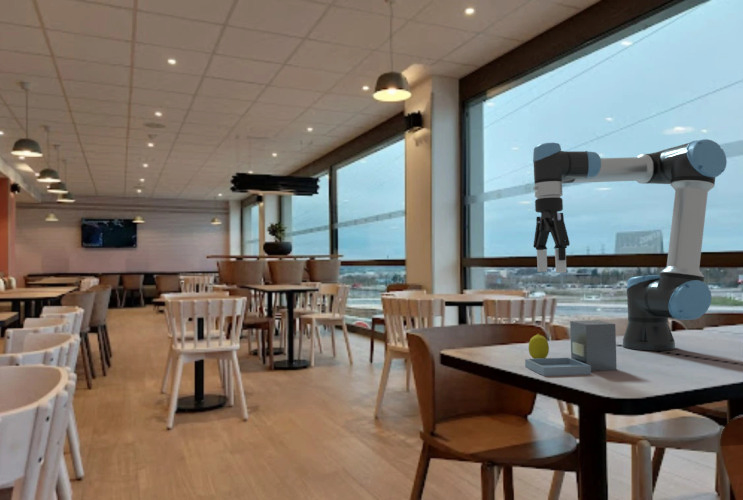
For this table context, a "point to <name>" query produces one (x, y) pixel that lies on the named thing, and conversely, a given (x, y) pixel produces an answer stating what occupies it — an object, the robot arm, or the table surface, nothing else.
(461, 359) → the table surface
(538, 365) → the dish
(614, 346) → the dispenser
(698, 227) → the robot arm
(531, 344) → the lemon
